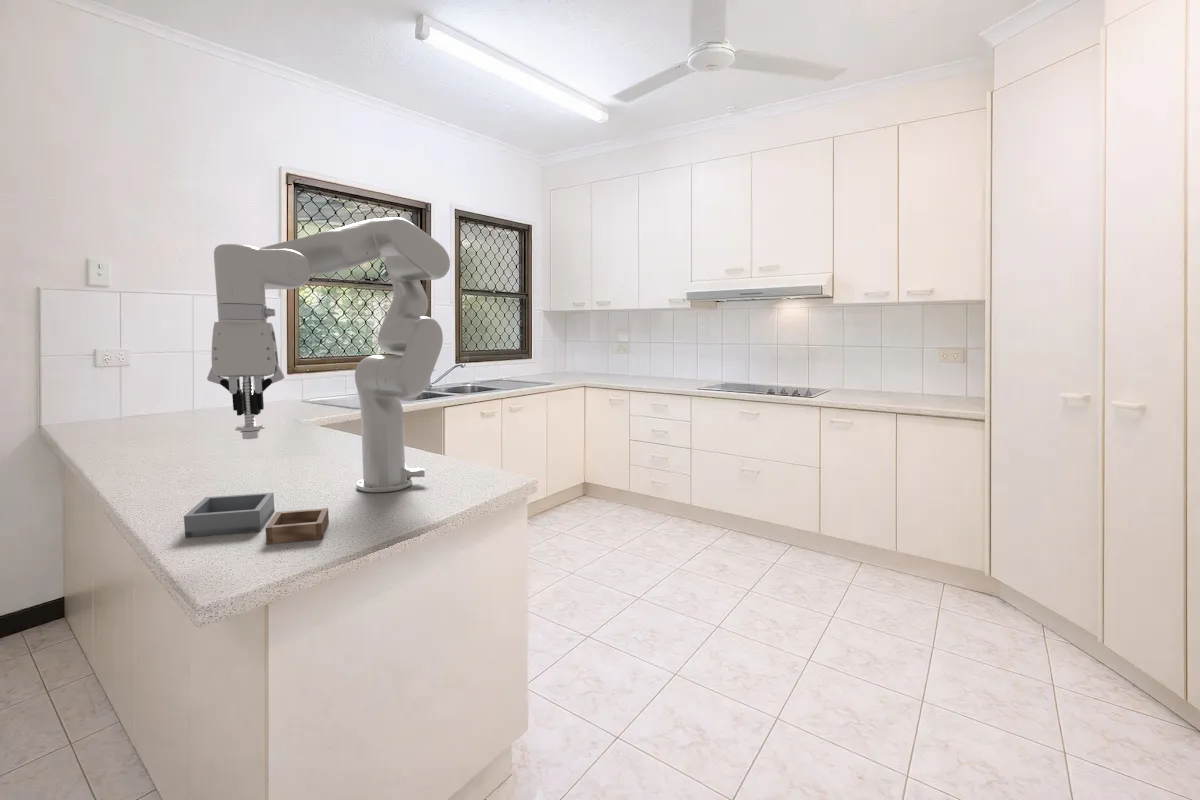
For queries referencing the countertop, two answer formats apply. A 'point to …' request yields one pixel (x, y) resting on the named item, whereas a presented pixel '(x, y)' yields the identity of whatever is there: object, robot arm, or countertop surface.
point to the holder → (297, 526)
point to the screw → (248, 413)
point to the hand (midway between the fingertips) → (249, 413)
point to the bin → (229, 514)
